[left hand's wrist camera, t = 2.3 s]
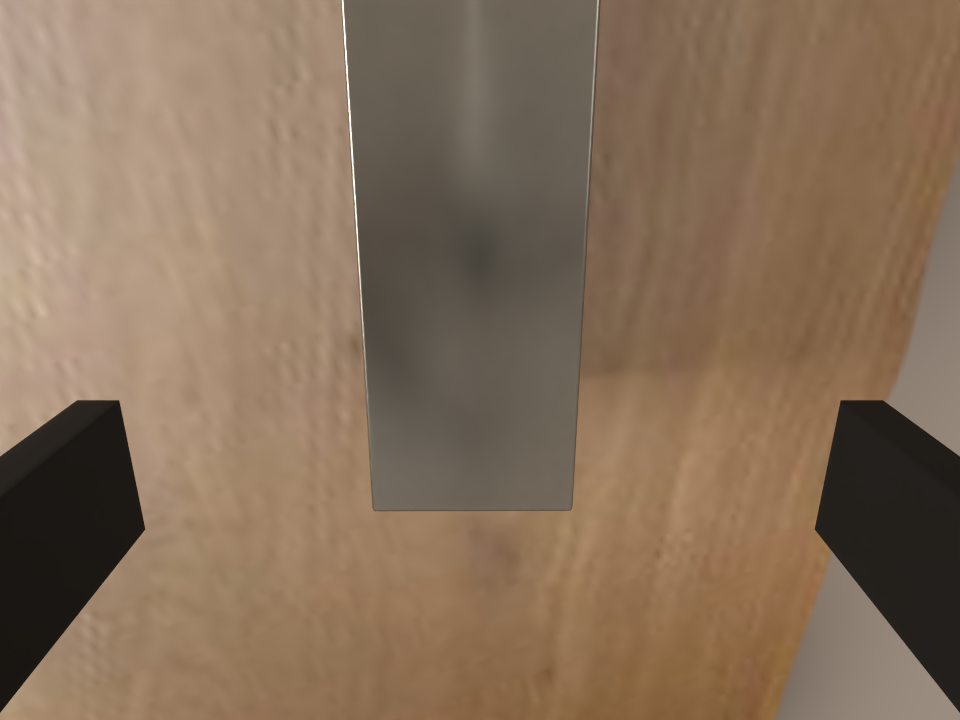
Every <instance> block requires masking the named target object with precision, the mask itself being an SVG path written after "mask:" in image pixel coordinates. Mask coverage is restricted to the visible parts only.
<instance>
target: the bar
mask: <svg viewBox="0 0 960 720" xmlns="http://www.w3.org/2000/svg"><path fill="white" fill-rule="evenodd" d="M341 8H342V24H343V40H344V56H345V72H346V88H347V104H348V120H349V136H350V152H351V168H352V184H353V201H354V217H355V233H356V249H357V265H358V281H359V297H360V313H361V329H362V345H363V361H364V377H365V393H366V409H367V425H368V441H369V458H370V474H371V490H372V506H373V510H374V511H569V510H571V509H572V504H573V486H574V468H575V450H576V432H577V414H578V396H579V378H580V360H581V342H582V324H583V306H584V288H585V270H586V252H587V234H588V216H589V198H590V180H591V162H592V144H593V126H594V108H595V90H596V72H597V54H598V36H599V18H600V0H341Z"/></svg>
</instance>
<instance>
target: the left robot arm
mask: <svg viewBox="0 0 960 720" xmlns="http://www.w3.org/2000/svg"><path fill="white" fill-rule="evenodd" d="M144 530H145V526H144V521H143V516H142V511H141V506H140V501H139V496H138V491H137V486H136V481H135V476H134V471H133V466H132V461H131V457H130V452H129V447H128V442H127V437H126V432H125V427H124V422H123V417H122V412H121V407H120V402H119V400H77V401H76V402H74V403H73V404H72V405H70V406H69V407H67V408H66V409H65V410H63V411H62V412H61V413H59V414H58V415H56V416H55V417H54V418H52V419H51V420H50V421H48V422H47V423H46V424H44V425H43V426H41V427H40V428H39V429H37V430H36V431H35V432H33V433H32V434H30V435H29V436H28V437H26V438H25V439H24V440H22V441H21V442H19V443H18V444H17V445H15V446H14V447H13V448H11V449H10V450H9V451H7V452H6V453H4V454H3V455H2V456H0V712H1V711H2V710H3V708H4V707H5V706H6V705H7V703H8V702H9V701H10V700H11V698H12V697H13V696H14V695H15V693H16V692H17V691H18V689H19V688H20V687H21V686H22V684H23V683H24V682H25V681H26V679H27V678H28V677H29V676H30V674H31V673H32V672H33V671H34V669H35V668H36V667H37V665H38V664H39V663H40V662H41V660H42V659H43V658H44V657H45V655H46V654H47V653H48V652H49V650H50V649H51V648H52V646H53V645H54V644H55V643H56V641H57V640H58V639H59V638H60V636H61V635H62V634H63V633H64V631H65V630H66V629H67V628H68V626H69V625H70V624H71V622H72V621H73V620H74V619H75V617H76V616H77V615H78V614H79V612H80V611H81V610H82V609H83V607H84V606H85V605H86V604H87V602H88V601H89V600H90V598H91V597H92V596H93V595H94V593H95V592H96V591H97V590H98V588H99V587H100V586H101V585H102V583H103V582H104V581H105V580H106V578H107V577H108V576H109V574H110V573H111V572H112V571H113V569H114V568H115V567H116V566H117V564H118V563H119V562H120V561H121V559H122V558H123V557H124V556H125V554H126V553H127V552H128V550H129V549H130V548H131V547H132V545H133V544H134V543H135V542H136V540H137V539H138V538H139V537H140V535H141V534H142V533H143V531H144ZM815 530H816V531H817V533H818V534H819V535H820V537H821V538H822V539H823V540H824V542H825V543H826V544H827V545H828V547H829V548H830V549H831V550H832V552H833V553H834V554H835V556H836V557H837V558H838V559H839V561H840V562H841V563H842V564H843V566H844V567H845V568H846V569H847V571H848V572H849V573H850V574H851V576H852V577H853V578H854V580H855V581H856V582H857V583H858V585H859V586H860V587H861V588H862V590H863V591H864V592H865V593H866V595H867V596H868V597H869V598H870V600H871V601H872V602H873V603H874V605H875V606H876V607H877V609H878V610H879V611H880V612H881V614H882V615H883V616H884V617H885V619H886V620H887V621H888V622H889V624H890V625H891V626H892V628H893V629H894V630H895V631H896V632H897V634H898V635H899V636H900V638H901V639H902V640H903V641H904V643H905V644H906V645H907V646H908V648H909V649H910V650H911V652H912V653H913V654H914V655H915V657H916V658H917V659H918V660H919V662H920V663H921V664H922V665H923V667H924V668H925V669H926V670H927V672H928V673H929V674H930V676H931V677H932V678H933V679H934V681H935V682H936V683H937V684H938V686H939V687H940V688H941V689H942V691H943V692H944V693H945V695H946V696H947V697H948V698H949V700H950V701H951V702H952V703H953V705H954V706H955V707H956V708H957V710H958V711H959V712H960V456H958V455H957V454H956V453H954V452H953V451H951V450H950V449H949V448H947V447H946V446H945V445H943V444H942V443H941V442H939V441H938V440H936V439H935V438H934V437H932V436H931V435H930V434H928V433H927V432H925V431H924V430H923V429H921V428H920V427H919V426H917V425H916V424H914V423H913V422H912V421H910V420H909V419H908V418H906V417H905V416H904V415H902V414H901V413H899V412H898V411H897V410H895V409H894V408H893V407H891V406H890V405H888V404H887V403H886V402H884V401H883V400H841V402H840V407H839V412H838V417H837V422H836V427H835V432H834V437H833V442H832V447H831V452H830V457H829V461H828V466H827V471H826V476H825V481H824V486H823V491H822V496H821V501H820V506H819V511H818V516H817V521H816V526H815Z"/></svg>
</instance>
